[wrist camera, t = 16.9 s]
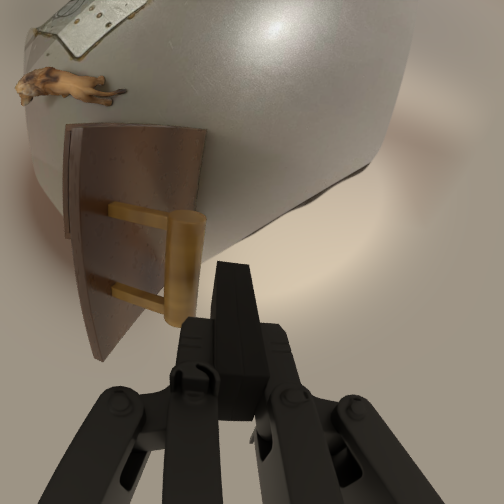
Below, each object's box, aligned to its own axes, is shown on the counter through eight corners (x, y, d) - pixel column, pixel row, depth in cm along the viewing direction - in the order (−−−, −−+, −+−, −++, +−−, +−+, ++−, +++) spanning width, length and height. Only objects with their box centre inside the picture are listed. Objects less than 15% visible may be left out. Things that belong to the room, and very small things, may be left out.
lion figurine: (43, 105, 26) (6, 107, 18) (50, 73, 24) (15, 67, 16) (123, 108, 29) (95, 104, 21) (133, 71, 27) (107, 57, 19)
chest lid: (93, 358, 14) (178, 393, 14) (71, 127, 9) (198, 133, 8) (181, 255, 29) (235, 269, 29) (197, 128, 24) (260, 138, 23)
